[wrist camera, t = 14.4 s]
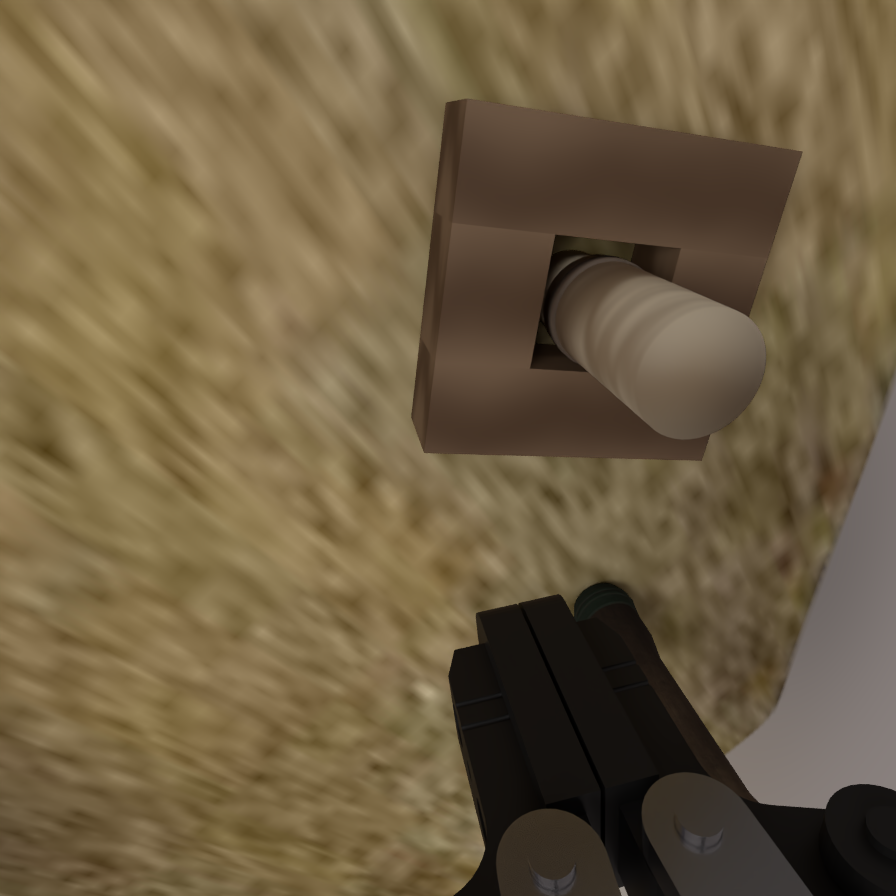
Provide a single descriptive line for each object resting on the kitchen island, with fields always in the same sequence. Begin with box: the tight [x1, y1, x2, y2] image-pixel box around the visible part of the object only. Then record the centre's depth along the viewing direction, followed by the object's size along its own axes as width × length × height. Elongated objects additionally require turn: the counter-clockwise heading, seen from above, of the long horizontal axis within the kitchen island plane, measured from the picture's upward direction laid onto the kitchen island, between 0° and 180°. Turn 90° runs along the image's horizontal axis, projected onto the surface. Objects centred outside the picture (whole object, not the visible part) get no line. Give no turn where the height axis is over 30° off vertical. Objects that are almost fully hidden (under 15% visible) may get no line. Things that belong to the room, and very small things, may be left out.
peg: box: [539, 250, 766, 440], centre depth 25 cm, size 5×5×12 cm
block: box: [411, 99, 802, 461], centre depth 29 cm, size 14×14×4 cm
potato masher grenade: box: [574, 583, 759, 803], centre depth 27 cm, size 8×9×30 cm
